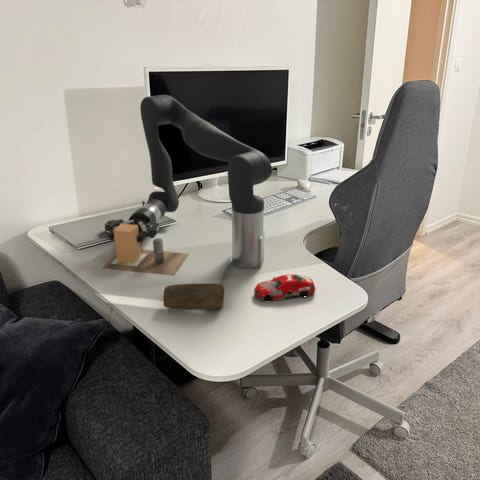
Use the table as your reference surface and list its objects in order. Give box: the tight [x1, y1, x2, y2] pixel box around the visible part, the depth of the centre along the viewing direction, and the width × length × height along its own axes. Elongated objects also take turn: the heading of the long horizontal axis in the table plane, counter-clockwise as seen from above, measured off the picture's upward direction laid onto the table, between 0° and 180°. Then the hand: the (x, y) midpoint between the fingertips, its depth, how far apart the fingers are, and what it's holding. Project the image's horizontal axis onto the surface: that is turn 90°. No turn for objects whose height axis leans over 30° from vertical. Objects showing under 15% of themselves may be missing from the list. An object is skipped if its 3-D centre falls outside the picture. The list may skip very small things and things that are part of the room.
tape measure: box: [104, 219, 125, 232], centre depth 159 cm, size 7×7×4 cm
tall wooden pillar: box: [114, 224, 141, 263], centre depth 135 cm, size 5×5×10 cm
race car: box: [253, 274, 316, 303], centre depth 121 cm, size 16×7×5 cm, turn 101°
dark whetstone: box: [162, 283, 225, 310], centre depth 115 cm, size 15×7×7 cm, turn 93°
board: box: [101, 237, 190, 276], centre depth 135 cm, size 22×14×8 cm, turn 78°
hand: (124, 238), depth 132 cm, fingers open, 8 cm apart
